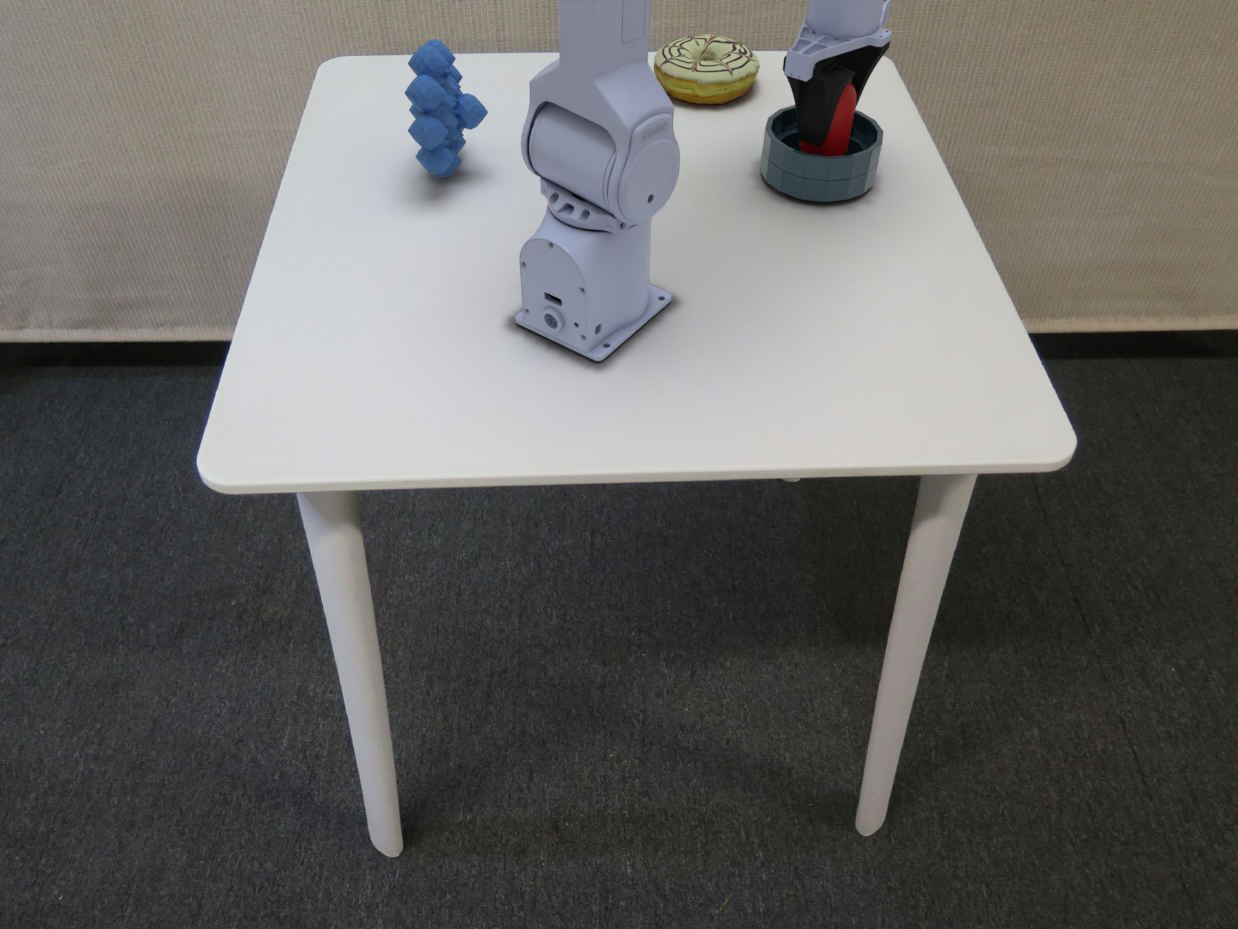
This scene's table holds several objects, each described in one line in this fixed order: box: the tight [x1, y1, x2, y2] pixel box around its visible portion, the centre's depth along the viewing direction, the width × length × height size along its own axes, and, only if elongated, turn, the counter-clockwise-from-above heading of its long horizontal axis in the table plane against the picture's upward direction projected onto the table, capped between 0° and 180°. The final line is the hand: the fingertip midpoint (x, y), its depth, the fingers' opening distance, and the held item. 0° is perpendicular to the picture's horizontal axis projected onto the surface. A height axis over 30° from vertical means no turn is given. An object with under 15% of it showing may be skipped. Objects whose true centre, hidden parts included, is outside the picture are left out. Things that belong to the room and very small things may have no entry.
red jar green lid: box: [799, 66, 857, 156], centre depth 84 cm, size 4×4×6 cm
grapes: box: [404, 38, 489, 178], centre depth 84 cm, size 12×7×12 cm, turn 178°
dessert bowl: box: [759, 104, 884, 203], centre depth 87 cm, size 10×10×4 cm
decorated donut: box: [653, 33, 761, 105], centre depth 99 cm, size 10×11×4 cm
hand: (824, 131), depth 85 cm, fingers closed on red jar green lid, 4 cm apart
